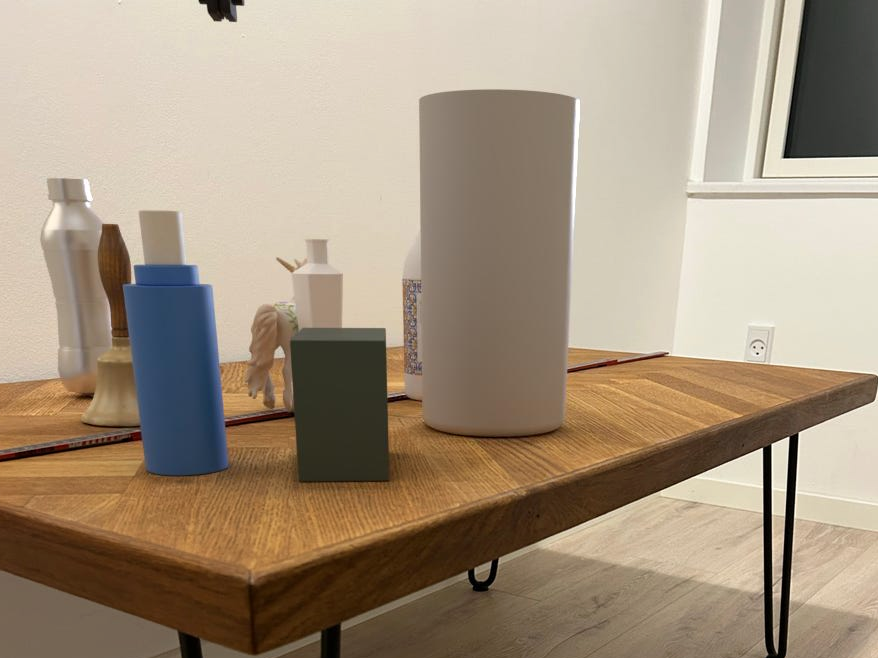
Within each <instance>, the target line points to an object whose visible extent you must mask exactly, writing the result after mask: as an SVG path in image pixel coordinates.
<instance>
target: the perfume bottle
mask: <svg viewBox="0 0 878 658" xmlns="http://www.w3.org/2000/svg"><path fill="white" fill-rule="evenodd" d="M303 240H304V242H305V244H306V245H305V246H306V258H307V264H305V265H304V266H302V267H301V268H299V269H297V270H296V271H294V272H293V273H291V272H290V275H291V280H292V289H293V297H295V305H296V313H297V321H298V329H299V331H300V330H301V329H302V328H343V293H344V291H343V289H344V288H343V286H344V280H343V279H344V273H343V272H342V271H340V270H339V269H337V268H336V267H334V266H333V265H332V264H330V262H329V259H330V258H329V245H328V244H329V241H330V239H329V238H304V239H303Z"/></svg>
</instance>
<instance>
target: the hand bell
mask: <svg viewBox="0 0 878 658" xmlns="http://www.w3.org/2000/svg"><path fill="white" fill-rule="evenodd" d="M98 267H99V273H100V278H101V282H102V285H103V288H104V290H105V293H106V295H107V298H108V301H109V306H110V316H111V327H112V330H111V334H112V348H111V349H110V350H109V351H107V352H106V353H105V354H103V355H101V356H99V358H98V360H97V366H98V372H97V386H96V391H95V395H94V396H93V398H92V400H91V402H90V404H89V406H88V408H86V410H85V411H84V412H83V413H82V415H81V417H80V421H81V422H82V423H85V424H88V425H92V426H102V427H140V419H139V411H138V403H137V395H136V387H135V379H134V371H133V363H132V355H131V347H130V339H129V331H128V323H127V316H126V308H125V300H124V292H123V285H125V284H132V265H131V257H130V253H129V250H128V248H127V245H126V242H125V240H124V238H123V235H122V233H121V229H120V226H119V224H117V223H104V224H102V232H101V237H100V241H99V247H98Z"/></svg>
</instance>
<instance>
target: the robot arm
mask: <svg viewBox="0 0 878 658" xmlns="http://www.w3.org/2000/svg"><path fill="white" fill-rule="evenodd" d="M198 3H199V5H205V6H206V10H207V11H206V12H207V14H208V15H209V16H210V18H211V19H212V20H213V22H220V23H221V22H222V21H223V20H228V22H229V23H238V12H237V11H238V10H237V7H244V6H245V0H198Z"/></svg>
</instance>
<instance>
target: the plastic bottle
mask: <svg viewBox="0 0 878 658" xmlns="http://www.w3.org/2000/svg"><path fill="white" fill-rule="evenodd" d="M46 184H47V190H48V194H47V197H48V200H49V201H52V207H51V210H50V211H49V213H48V215H47V217H46V219H45V220H44V223H43V225H42V228H41V230H40V235H39V242H40V247H41V250H42V252H43V257H44V261H45V264H46V268H47V271H48V275H49V278H50V282H51V288H52V293H53V298H54V299H55V302H54V304H55V309H56V317H57V333H58V345H59V348H57V349H58V350H57V372H58V375H59V378H60V381H61V384H62V385H63V386H64V388H65V389H66V390H67V391H68V392H70V393H74V394H79V395H84V396H90V397H94V395H95V391H96V386H97V372H98V366H97V360H98V358H99V356H101V355H103V354H105V353H106V352H107V351H109V350H110V349H111V348H112V334H111V330H112V327H111V316H110V306H109V301H108V298H107V295H106V293H105V290H104V288H103V285H102V282H101V278H100V273H99V267H98V247H99V241H100V237H101V232H102V224H105V223H104V222H103V220H102V219H101V217H99V215H98V214H97V213H96V212H95V210H93V209H92V206H91V202H94V199H93V195H92V193H91V187H90V186H91V185H90V182H89V179H85V178H84V179H83V178H82V179H81V178H67V177H66V178H65V177H64V178H63V177H62V178H61V177H59V178H57V177H54V178H53V177H52V178H51V177H50V178H49V177H48V178H46Z"/></svg>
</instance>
